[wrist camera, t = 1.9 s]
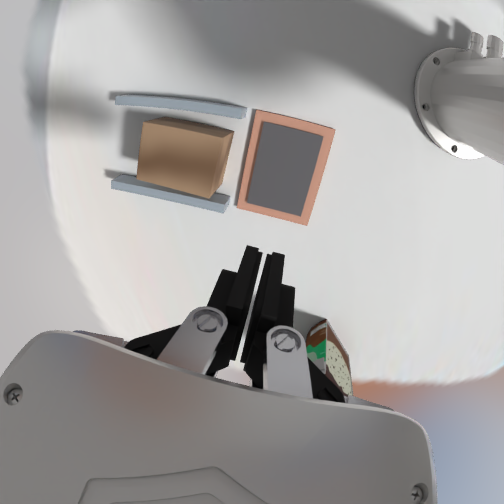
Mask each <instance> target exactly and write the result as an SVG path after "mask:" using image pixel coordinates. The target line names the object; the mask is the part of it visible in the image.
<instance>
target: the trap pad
mask: <svg viewBox="0 0 504 504" xmlns="http://www.w3.org/2000/svg"><path fill="white" fill-rule="evenodd" d="M334 134H335V129H332V128H328V127H325V126H321V125H318V124H314V123H310V122H307V121H303V120H299V119H295V118H291V117H287V116H283V115H278V114H274V113H269V112H265V111H260V110H256V114H255V119H254V124H253V129H252V134H251V138H250V143H249V148H248V153H247V158H246V163H245V168H244V173H243V178H242V183H241V189H240V194H239V199H238V204H237V208H239V209H243V210H247V211H251V212H255V213H259V214H263V215H267V216H271V217H275V218H279V219H283V220H287V221H291V222H295V223H298V224H302V225H306V226H307V224H308V221H309V218H310V215H311V212H312V209H313V205H314V202H315V199H316V196H317V192H318V189H319V186H320V182H321V179H322V176H323V172H324V169H325V165H326V162H327V159H328V155H329V152H330V148H331V144H332V141H333V137H334Z"/></svg>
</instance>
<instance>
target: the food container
mask: <svg viewBox="0 0 504 504" xmlns="http://www.w3.org/2000/svg"><path fill="white" fill-rule="evenodd" d="M305 345H306V351H307V357H308V358H309V359H310V360H311V361H312V362H313V363H314V364H315V365H316V366H317V367H318V368H319V369H320V370H321V371H322V372H323V373H324V374H325V375H326V376H327V377H328V378H329V379H330V380H331V381H332V382H333V383H334V384H335V385H336V386H337V387H338V388H339V389H340V391H341V392H342V393H343V395H344V396H346V397H348V396H349V395H351V396H353V389H352V379H351V370H350V362H349V355H348V353H347V352H346V350H345V348H344V347H343V345H342V343H341V342H340V340H339V338H338V337H337V335H336V334H335V332H334V330H333V329H332V327H331V325H330V324H329V322H328V320H327V319H325V320H323V321H321V322H319V323H317V324H316V325H315V326H313V327H312V328H311V330H310V331H309V332H308V334H307V338H306V344H305Z"/></svg>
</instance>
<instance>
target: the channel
mask: <svg viewBox="0 0 504 504" xmlns="http://www.w3.org/2000/svg"><path fill="white" fill-rule="evenodd" d="M115 105H131V106H146V107H158V108H168V109H178V110H186V111H194V112H201V113H208V114H214V115H220V116H226V117H232V118H237V119H242V118H245V117H246V112H247V108H245V107H239V106H233V105H227V104H221V103H215V102H208V101H200V100H192V99H183V98H173V97H161V96H147V95H120V96H116V99H115ZM136 178H137V177H135V176H129V175H124V174H122V175H120V176H118V177H117V178H115V179H113V180H112V181H111V189H116V190H121V191H126V192H131V193H136V194H140V195H145V196H150V197H154V198H159V199H163V200H168V201H172V202H177V203H181V204H186V205H190V206H194V207H199V208H203V209H207V210H211V211H216V212H220V213H224V212H225V210H226V208H227V207H228V205H229V201H230V196H226V195H222V194H217V193H214V194H213V195H212V196H211V197H210V198H205V197H201V196H198V195H194V194H191V193H187V192H183V191H180V190H176V189H172V188H168V187H165V186H161V185H157V184H153V183H149V182H145V181H141V180H137V179H136Z"/></svg>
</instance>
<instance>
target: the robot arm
mask: <svg viewBox="0 0 504 504" xmlns="http://www.w3.org/2000/svg"><path fill="white" fill-rule="evenodd" d="M482 47H483V37H482V36H481V35H480V34H478V33H475V32H472V35H471V47H470V49H468V51H467V50H464V49H460V48H444V49H440V50H438V51H435V52H433V53H432V54H430V55H429V56H428V57H426V59H425V60H424V61H423V63H422V64H421V66H420V68H419V70H418V72H417V76H416V80H415V91H414V95H415V104H416V108H417V112H418V116H419V118H420V121H421V123H422V125H423V127H424V129H425V131H426V132H427V134H428V136H429V137H430V138H431V139H432V140H433V141H434V143H435V144H436V145H438V146H439V147H440V148H441V149H442V150H444V151H445V152H447V153H449V154H451V155H453V156H455V157H457V158H461V159H466V160H468V159H477V158H481V157H483V156H487V157H489V158H491V159H493V160H495V161H497V162H499V163H501V164H503V165H504V58H501V56H502V52H503V41H502V40H501V39H500V38H498V37H496V36H493V35H488V40H487V54H486V57H483V55H482V54H481V50H482ZM433 60H434V61H435V64H434V62H433ZM422 105H424V109H423V108H422ZM451 147H452V149H451ZM258 250H259V248H256V247H252V246H248V245H247V247H246V249H245V252H244V255H243V258H242V261H241V264H240V267H239V270H238V273H236V272H232V271H228V270H225V269H223V270H222V271H221V274H220V276H219V278H218V281H217V283H216V285H215V288H214V290H213V292H212V295H211V297H210V300H209V302H208V304H207V307H205V306H204V307H198V308H196V309H194V310H193V311H192V312H190V314H189V315H188V316H187V318H186V319H185V320H184V322H183V323H182V324H181V325H178V326H175V327H172V328H168V329H165V330H162V331H159V332H155V333H152V334H149V335H145V336H142V337H139V338H135V339H133V340H131V341H130V342H126V341H124V339H123V338H118V337H112V336H107V335H101V334H96V333H90V332H86V331H73V332H71V331H59V330H56V331H47V332H43V333H40V334H38V335H37V336H35V337H34V338H33V339H31V340H30V341H29V342H28V343H27V344H26V345H25V346H24V347H23V348H22V349H21V351H20V352H19V353H18V354H17V355H16V357H15V358H14V359H13V361H12V362H11V363H10V365H9V366H8V367H7V369H6V370H5V371H4V373H3V375H2V376H1V377H0V504H437V480H436V471H435V462H434V456H433V451H432V447H431V443H430V440H429V437H428V435H427V432H426V431H425V429H424V428H423V427H422V425H421V424H419V423H418V422H417V421H415V420H413V419H412V418H410V417H408V416H405V415H403V414H401V413H398V412H395V411H394V410H392V409H390V408H388V407H385V406H382V405H379V404H376V403H372V402H369V401H366V400H363V399H360V398H357V397H354V396H351V395H349V396H348V397H346V396H344V395H343V393H342V392H341V391H340V389H339V388H338V387H337V386H336V385H335V384H334V383H333V382H332V381H331V380H330V379H329V378H328V377H327V376H326V375H325V374H324V373H323V372H322V371H321V370H320V369H319V368H318V367H317V366H316V365H315V364H314V363H313V362H312V361H311V360H310V359H309V358H308V357H307V351H306V345H305V340H304V337H303V336H302V335H301V333H300V332H298V331H297V330H296V329H294V328H293V314H294V299H295V287H292V286H288V285H284V284H281V283H282V275H283V267H284V258H285V255H283V254H280V253H276V252H273V253H272V255H270V254H267V257H266V261H265V264H264V268H263V272H262V275H261V279H260V283H259V286H258V290H257V294H256V297H255V301H254V305H253V309H252V314H251V318H250V322H249V326H248V331H247V335H246V339H245V343H244V348H243V352H242V356H241V360H240V362H242V363H245V365H244V371H245V372H246V373H247V375H248V376H249V377H250V378H251V379H250V383H249V384H250V385H249V386H246V385H242V384H238V383H233V382H229V381H226V380H222V379H218V378H216V376H217V373H218V371H219V370H221V369H223V368H226V367H228V365H229V362H230V360H234V361H235V359H236V356H237V352H238V348H239V345H240V341H241V337H242V333H243V330H244V326H245V322H246V319H247V315H248V311H249V307H250V303H251V299H252V295H253V291H254V287H255V283H256V278H257V274H258V270H259V266H260V262H261V258H262V254H263V253H262V252H258Z"/></svg>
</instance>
